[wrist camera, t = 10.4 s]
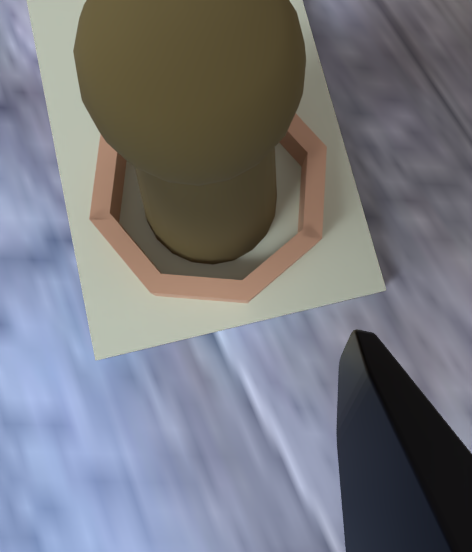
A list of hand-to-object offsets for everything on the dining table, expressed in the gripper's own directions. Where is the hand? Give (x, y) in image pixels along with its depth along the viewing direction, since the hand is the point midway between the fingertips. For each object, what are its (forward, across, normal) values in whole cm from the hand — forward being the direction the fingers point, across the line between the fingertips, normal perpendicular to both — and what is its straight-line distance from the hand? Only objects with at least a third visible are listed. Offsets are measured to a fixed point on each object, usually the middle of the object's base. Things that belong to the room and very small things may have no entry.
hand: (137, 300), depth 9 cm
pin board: (+15, +2, 0) cm, 15 cm away
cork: (+11, 0, +3) cm, 11 cm away
